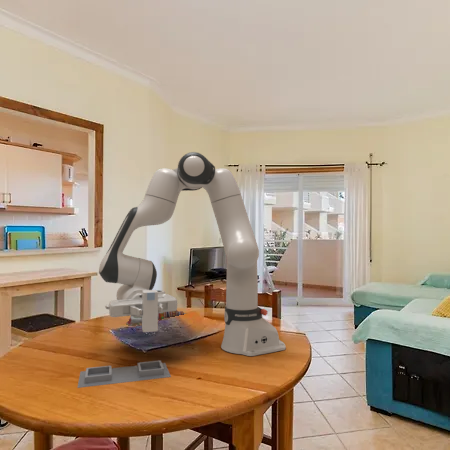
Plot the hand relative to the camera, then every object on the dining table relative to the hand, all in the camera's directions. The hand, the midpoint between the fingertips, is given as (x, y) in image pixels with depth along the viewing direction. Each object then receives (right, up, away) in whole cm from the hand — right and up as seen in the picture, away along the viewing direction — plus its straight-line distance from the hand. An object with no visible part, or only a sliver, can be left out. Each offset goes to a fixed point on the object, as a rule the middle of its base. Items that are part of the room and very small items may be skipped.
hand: (150, 311), depth 103 cm
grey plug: (0, -5, +1) cm, 5 cm away
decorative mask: (-7, -19, +57) cm, 61 cm away
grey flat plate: (-7, -18, -2) cm, 19 cm away
